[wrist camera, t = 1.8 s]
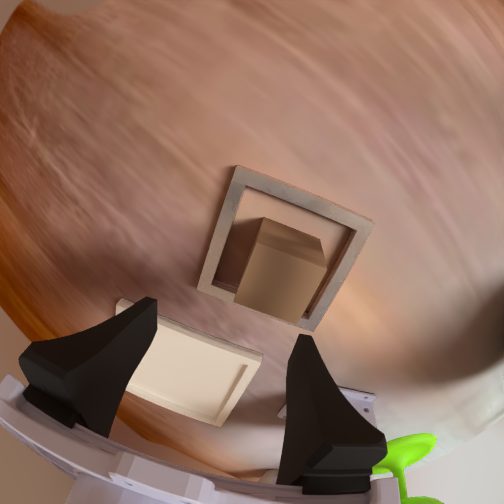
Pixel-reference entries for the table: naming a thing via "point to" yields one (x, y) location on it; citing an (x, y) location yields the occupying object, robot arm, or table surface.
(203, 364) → the tray
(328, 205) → the frame
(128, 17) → the table surface
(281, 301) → the walnut block
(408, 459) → the wineglass
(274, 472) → the salt shaker
